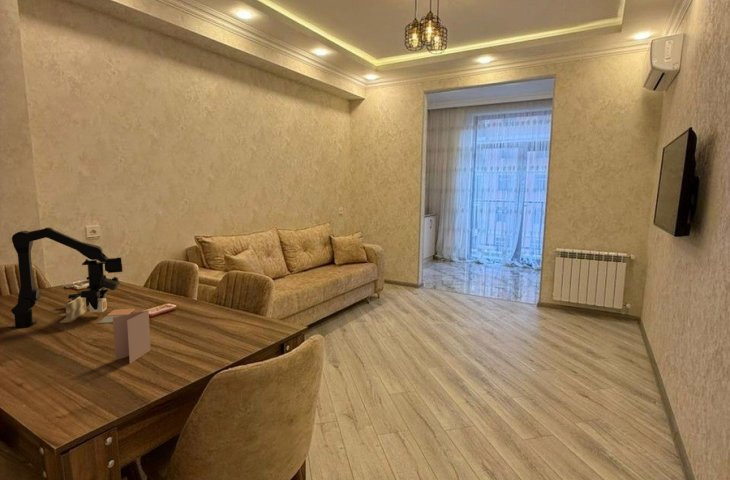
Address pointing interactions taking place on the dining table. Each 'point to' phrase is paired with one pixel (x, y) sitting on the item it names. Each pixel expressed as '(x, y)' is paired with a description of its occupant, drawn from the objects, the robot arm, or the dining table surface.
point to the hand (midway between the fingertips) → (98, 307)
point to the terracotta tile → (121, 312)
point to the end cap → (77, 297)
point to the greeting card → (131, 335)
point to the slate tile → (107, 319)
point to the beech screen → (74, 309)
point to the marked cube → (99, 305)
